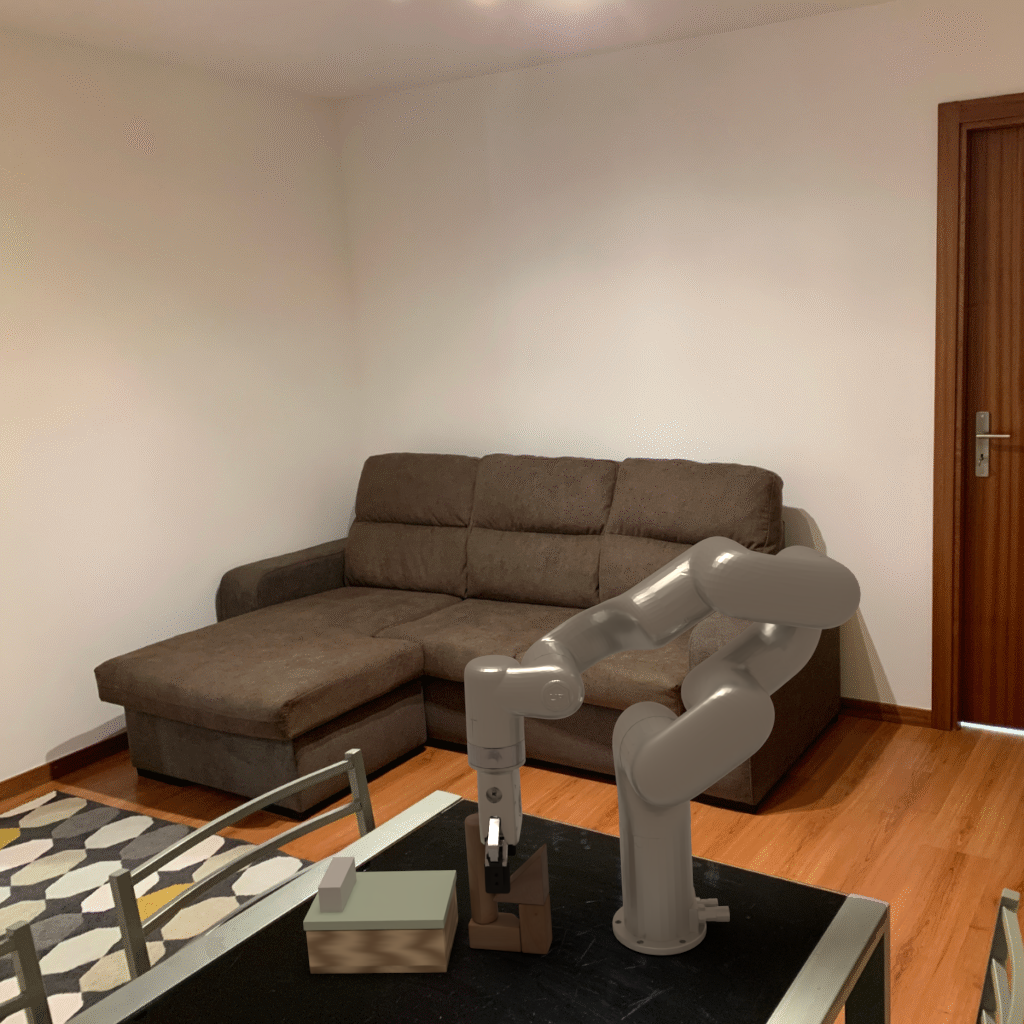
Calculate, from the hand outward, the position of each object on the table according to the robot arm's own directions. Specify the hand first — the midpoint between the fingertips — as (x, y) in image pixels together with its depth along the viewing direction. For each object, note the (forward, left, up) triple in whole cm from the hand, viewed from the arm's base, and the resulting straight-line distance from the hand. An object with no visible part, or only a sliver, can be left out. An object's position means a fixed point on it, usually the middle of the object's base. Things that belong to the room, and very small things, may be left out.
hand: (501, 872), depth 135 cm
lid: (+16, 0, -4) cm, 17 cm away
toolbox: (+16, 0, -10) cm, 19 cm away
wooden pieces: (-1, 0, -11) cm, 11 cm away
